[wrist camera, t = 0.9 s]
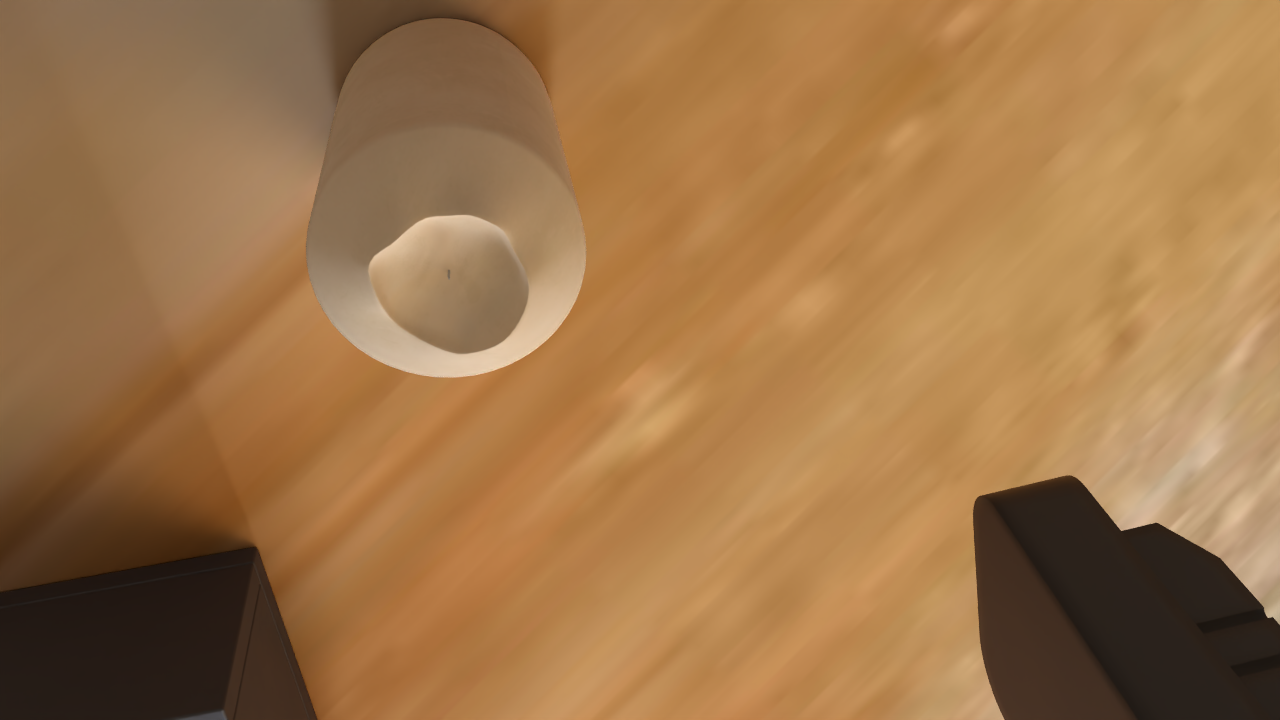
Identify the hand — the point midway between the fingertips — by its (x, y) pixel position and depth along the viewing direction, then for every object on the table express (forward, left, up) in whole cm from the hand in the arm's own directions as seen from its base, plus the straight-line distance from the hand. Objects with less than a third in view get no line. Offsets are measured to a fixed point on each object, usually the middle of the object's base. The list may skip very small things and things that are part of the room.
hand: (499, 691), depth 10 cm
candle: (+3, -1, -24) cm, 24 cm away
